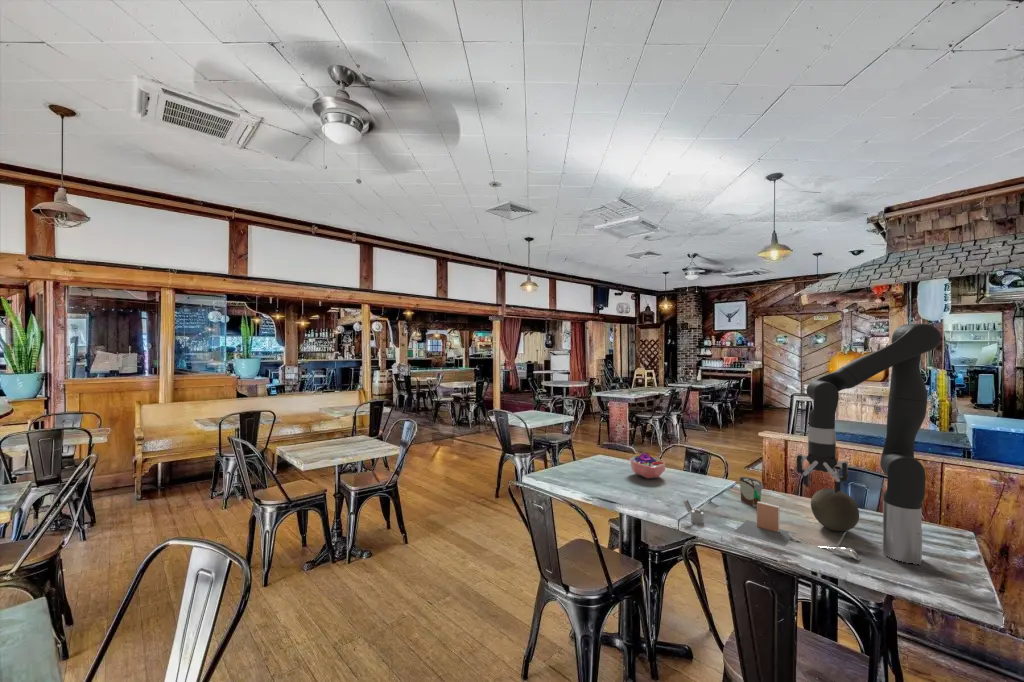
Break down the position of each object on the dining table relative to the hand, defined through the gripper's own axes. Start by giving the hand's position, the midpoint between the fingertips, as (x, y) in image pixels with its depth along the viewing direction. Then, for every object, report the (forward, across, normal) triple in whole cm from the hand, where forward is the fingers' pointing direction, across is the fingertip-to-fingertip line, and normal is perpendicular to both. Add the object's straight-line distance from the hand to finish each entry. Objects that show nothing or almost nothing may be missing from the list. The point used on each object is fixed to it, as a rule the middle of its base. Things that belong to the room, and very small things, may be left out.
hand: (821, 489), depth 145 cm
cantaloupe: (+20, 0, -20) cm, 28 cm away
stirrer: (+20, 0, 0) cm, 20 cm away
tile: (+19, +17, -3) cm, 26 cm away
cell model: (+20, +78, -29) cm, 86 cm away
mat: (+20, +17, +1) cm, 26 cm away
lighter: (+20, +39, +10) cm, 45 cm away
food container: (+20, +28, -27) cm, 44 cm away
